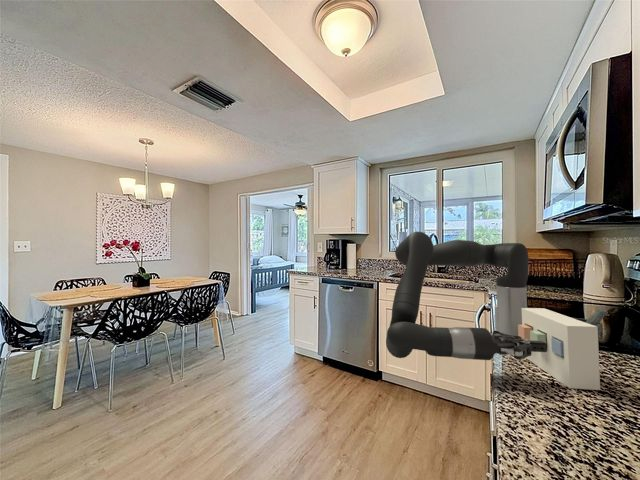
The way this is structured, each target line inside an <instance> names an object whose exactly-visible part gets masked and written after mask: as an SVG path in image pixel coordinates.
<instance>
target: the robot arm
mask: <svg viewBox="0 0 640 480" xmlns="http://www.w3.org/2000/svg"><path fill="white" fill-rule="evenodd" d="M394 252H395V254H394V256H395V258H396V260H397V261H398V262H399V263H401V264H402V265H403V266H405V268H404V271H403V274H402V275H401V278H400V280H399V282H398V284H397V287H396V290H395V293H394V298H393V303H392V307H391V320H390V324H389V327H388V329H387V331H386V338H385V345H386V348H387V351H388V352H389V354H390V355H391V356H393V357H395V358H396V359H397V358H398V359H405V358H407V357H408V356H409V355H410V354H411V353H412V352H413V350H416V351H417V350H418V351H424V352H425V353H426V354H427V355H429V356H432V357H444V358H445V357H446V358H455V359H461V360H478V361H491V360H492V359H493V358H494V356H495V354H498V355H500V356H509V355H510V356H511V355H513V358H514V359H515V360H519V361H521V360H522V359H527V358H526V357H528V356H531V355H532V354H531V352H547V344H546V343H545V342H543V341H532V340H525V339H523V338H520V336H518V325H522V308H528V301H527V299H528V297H527V282H528V278H529V252H528V248H527V247H526V245H525V244H523V243H520V242H504V243H493V244H492V243H491V244H481V243H480V242H477V241H473V240H465V239H454V240H449V241H445V242H440V243H437V244H434V243H433V241H432V239H431V237H430V236H429V235H428V234H427V233H425V232H422V231H419V230H417V231H414V232H413V231H412V232H411V233H410V234H409V235H407V236H406V237H405V238H404V239H403V240H402V241H401V242H400V243H399V244H398V245H397V247H396V249H395V251H394ZM479 265H488V266H493V267H498V268H507V273H506V274H505V275H503V276H499V277H497V278H496V279H495V280H496V282H495V284H496V285H495V286H496V304H495V305H494V330H495V331H494V332H493V331H492V333H491V332H490V331H489V329H487V328H485V327H467V326H466V327H464V326H463V327H462V326H457V327H456V326H453V327H441V326H440V327H439V326H437V327H434V326H433V327H432V326H431V327H430V326H426V325H424V324H419V323H417V319H418V316H419V310H420V302H421V296H422V295H421V294H422V288H423V284H424V281H425V276H426V273H427V269H428V267H429V266H450V267H451V266H452V267H475V266H479Z"/></svg>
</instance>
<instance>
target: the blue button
mask: <svg viewBox="0 0 640 480" xmlns="http://www.w3.org/2000/svg"><path fill="white" fill-rule="evenodd" d="M551 343H552V352H554V353H556V354H557V355H559V356H564V344H563V341H561V340H559V339H557V338H551Z"/></svg>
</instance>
